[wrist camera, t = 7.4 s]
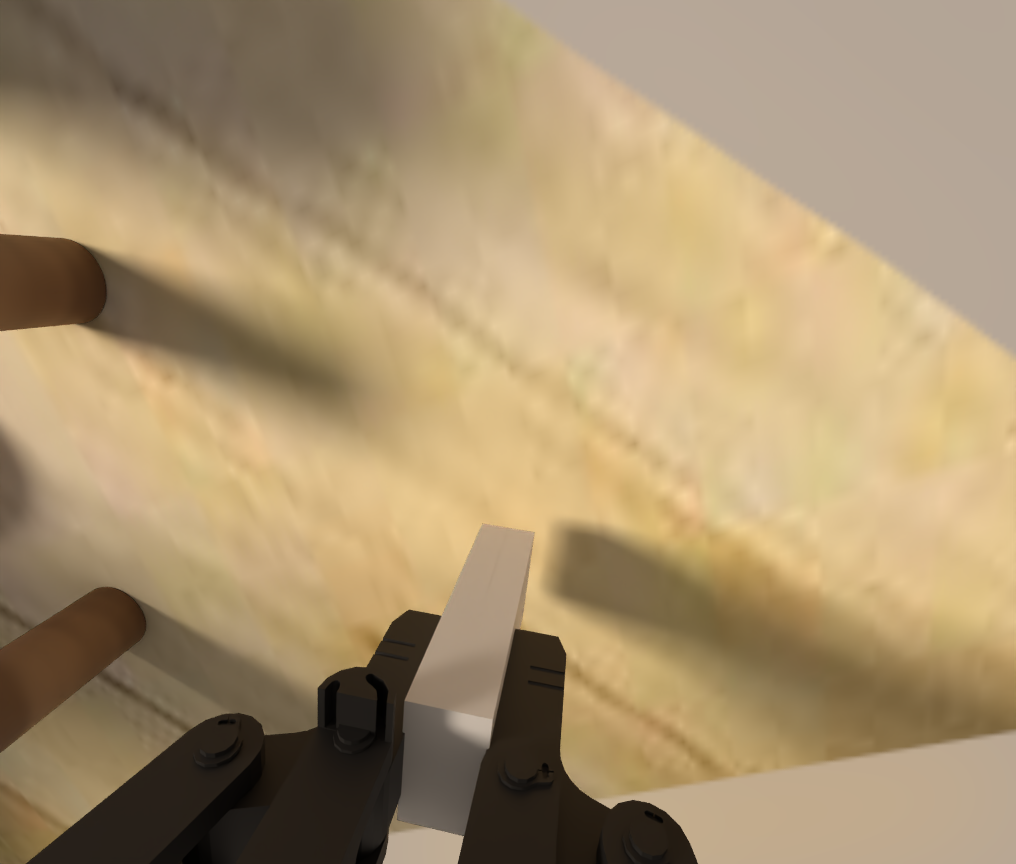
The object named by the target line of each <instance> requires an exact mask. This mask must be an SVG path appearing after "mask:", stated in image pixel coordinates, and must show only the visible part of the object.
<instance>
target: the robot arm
mask: <svg viewBox="0 0 1016 864" xmlns="http://www.w3.org/2000/svg"><path fill="white" fill-rule="evenodd" d="M533 539H534V532H530V531H524V530H518V529H512V528H507V527H501V526H495V525H489V524H483V523H482V525H481V528H480V530H479V532H478V534H477V537H476V539H475V541H474V543H473V546H472V548H471V550H470V553H469V555H468V557H467V559H466V562H465V564H464V566H463V569H462V571H461V573H460V575H459V578H458V580H457V582H456V584H455V587H454V589H453V591H452V594H451V596H450V598H449V600H448V603H447V605H446V607H445V609H444V612H443V614H442V616H439V615H434V614H429V613H424V612H419V611H413V610H408V611H406V612H405V613H404V614H402V615H401V616H400V617H398V618H397V619H396V620H394V621H393V622H392V624H391V625H390V627H389V629H388V630H387V632H386V634H385V636H384V637H383V641H381V643H380V644H379V646H378V648H377V650H376V652H375V655H373V657H372V658H371V660H370V662H369V664H368V665H367V667H354V668H349V669H345V670H341V671H339V672H337V673H335V674H334V675H332V676H330V677H328V678H327V679H326V680H325V681H324V682H323V683H322V684H321V685H320V686H319V687H318V727H316V728H314V729H311V730H308V731H303V732H297V733H288V734H275V735H264V733H263V729H262V725H261V724H260V723H259V722H258V721H257V720H256V719H254V718H253V717H251V716H248V715H244V714H240V713H235V714H222V715H220V716H217V717H214V718H211V719H208V720H205V721H204V722H202V723H200V724H199V725H197V726H196V727H194V728H192V729H191V730H189V731H188V732H187V733H186V734H184V735H183V736H182V737H181V738H180V739H178V740H177V741H176V742H175V743H173V744H172V745H171V746H170V747H169V748H167V749H166V750H165V751H164V752H162V753H161V754H160V755H159V756H157V757H156V758H155V759H154V760H153V761H151V762H150V763H149V764H148V765H146V766H145V767H144V768H143V769H142V770H140V771H139V772H138V773H137V774H135V775H134V776H133V777H132V778H130V779H129V780H128V781H127V782H126V783H124V784H123V785H122V786H121V787H119V788H118V789H117V790H116V791H115V792H113V793H112V794H111V795H110V796H108V797H107V798H106V799H105V800H103V801H102V802H101V803H100V804H99V805H97V806H96V807H95V808H94V809H92V810H91V811H90V812H89V813H88V814H86V815H85V816H84V817H83V818H81V819H80V820H79V821H78V822H76V823H75V824H74V825H73V826H72V827H70V828H69V829H68V830H67V831H65V832H64V833H63V834H62V835H60V836H59V837H58V838H57V839H56V840H54V841H53V842H52V843H51V844H49V845H48V846H47V847H46V848H45V849H43V850H42V851H41V852H40V853H38V854H37V855H36V856H35V857H33V858H32V859H31V860H30V861H29V862H27V863H26V864H382V863H383V860H384V858H385V855H386V849H387V844H388V834H389V826H390V823H391V821H392V818H393V815H394V812H395V810H396V807H397V804H398V813H397V820H399V821H403V822H407V823H411V824H416V825H420V826H424V827H428V828H432V829H436V830H441V831H445V832H449V833H453V834H458V835H462V836H464V839H463V843H462V848H461V852H460V856H459V861H458V864H698V863H697V860H696V858H695V855H694V852H693V850H692V848H691V845H690V843H689V841H688V839H687V837H686V836H685V834H684V832H683V831H682V829H681V827H680V826H679V825H678V824H677V823H676V822H675V821H674V820H673V819H672V818H671V817H670V816H669V815H668V814H667V813H666V812H665V811H663V810H661V809H659V808H657V807H656V806H654V805H652V804H650V803H646V802H641V801H635V800H631V801H626V802H622V803H618V804H617V805H616V806H615V807H613V808H612V809H609V808H608V807H606V806H604V805H602V804H601V803H599V802H597V801H596V800H594V799H592V798H590V797H589V796H588V795H586V794H585V793H583V792H582V791H581V790H579V789H578V787H577V786H576V785H575V784H574V783H573V782H572V781H571V780H570V778H569V777H568V775H567V773H566V772H565V770H564V767H563V764H562V762H561V757H560V740H561V725H562V711H563V696H564V681H565V666H566V653H565V650H564V648H563V646H562V644H561V642H560V640H559V637H556V636H551V635H546V634H541V633H536V632H530V631H525V630H520V627H521V622H522V617H523V612H524V604H525V597H526V590H527V583H528V576H529V568H530V561H531V554H532V547H533Z"/></svg>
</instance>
